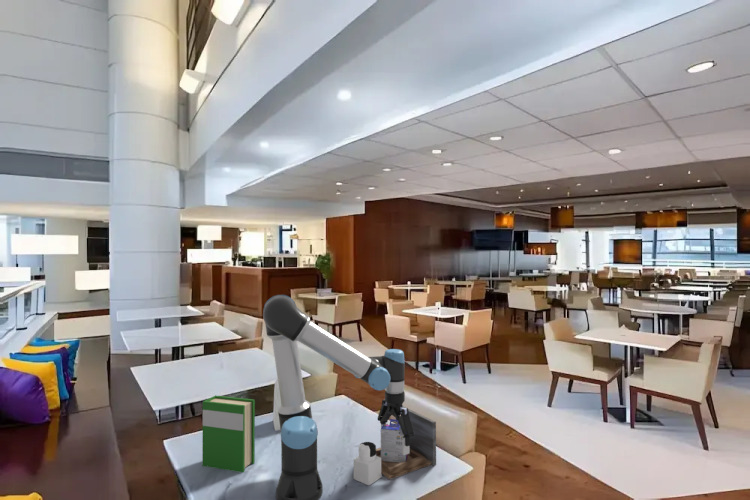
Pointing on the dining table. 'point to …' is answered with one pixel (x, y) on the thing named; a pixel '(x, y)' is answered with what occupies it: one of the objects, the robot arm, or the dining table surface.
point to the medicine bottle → (367, 464)
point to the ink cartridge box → (392, 443)
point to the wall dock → (414, 448)
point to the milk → (276, 406)
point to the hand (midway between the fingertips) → (395, 447)
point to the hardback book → (228, 433)
